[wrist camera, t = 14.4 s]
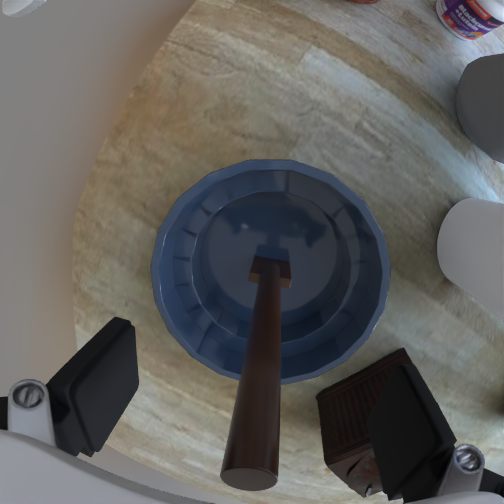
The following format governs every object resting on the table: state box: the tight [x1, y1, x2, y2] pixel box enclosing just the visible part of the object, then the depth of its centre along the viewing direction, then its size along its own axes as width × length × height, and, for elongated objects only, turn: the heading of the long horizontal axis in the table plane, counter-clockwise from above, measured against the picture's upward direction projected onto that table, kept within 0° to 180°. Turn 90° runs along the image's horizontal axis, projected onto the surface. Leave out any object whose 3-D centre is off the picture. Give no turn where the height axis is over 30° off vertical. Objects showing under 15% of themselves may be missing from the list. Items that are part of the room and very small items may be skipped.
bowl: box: [151, 159, 391, 385], centre depth 20 cm, size 15×15×6 cm
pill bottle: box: [436, 0, 504, 41], centre depth 10 cm, size 5×5×10 cm
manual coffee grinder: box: [315, 348, 440, 497], centre depth 18 cm, size 16×11×18 cm
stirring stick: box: [220, 256, 292, 491], centre depth 14 cm, size 3×1×18 cm, turn 81°
